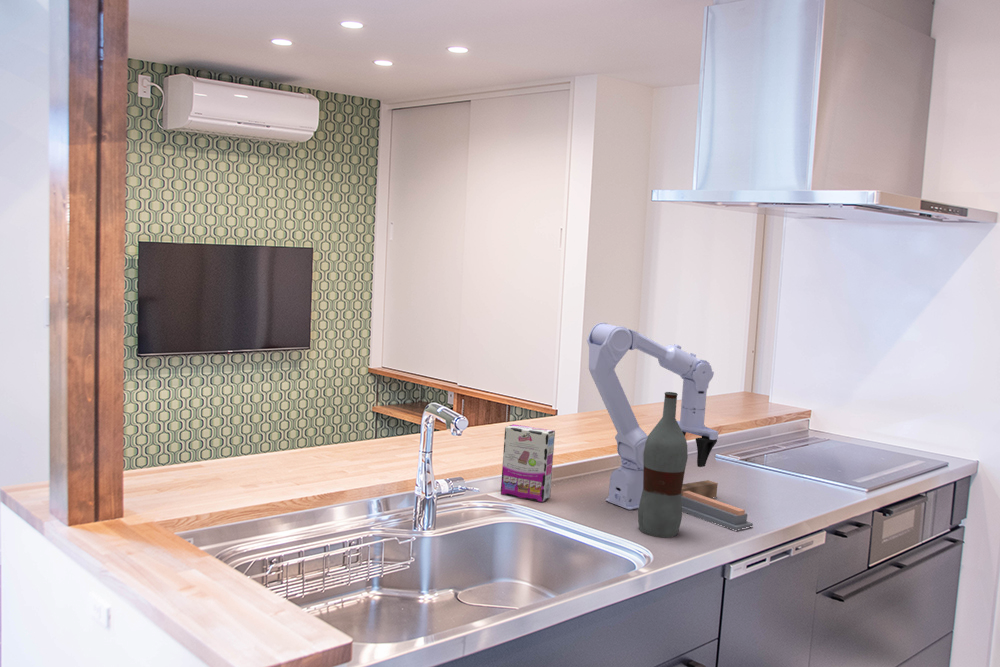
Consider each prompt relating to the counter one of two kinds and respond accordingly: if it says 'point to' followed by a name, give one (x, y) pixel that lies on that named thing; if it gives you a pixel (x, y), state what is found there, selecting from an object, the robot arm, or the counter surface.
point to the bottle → (663, 474)
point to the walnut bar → (701, 488)
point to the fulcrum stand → (714, 511)
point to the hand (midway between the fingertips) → (688, 462)
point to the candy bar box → (527, 462)
